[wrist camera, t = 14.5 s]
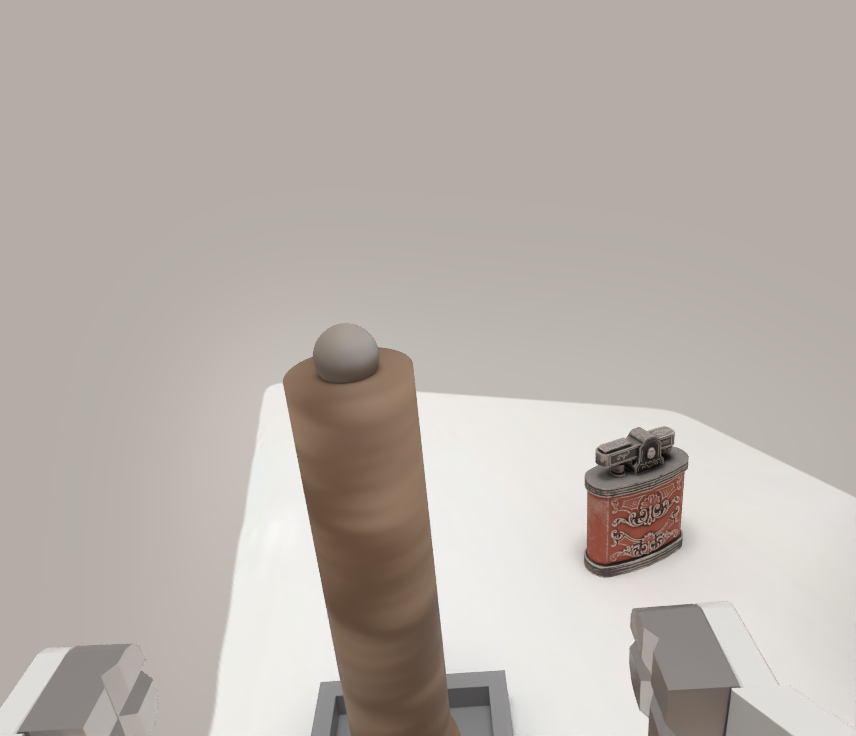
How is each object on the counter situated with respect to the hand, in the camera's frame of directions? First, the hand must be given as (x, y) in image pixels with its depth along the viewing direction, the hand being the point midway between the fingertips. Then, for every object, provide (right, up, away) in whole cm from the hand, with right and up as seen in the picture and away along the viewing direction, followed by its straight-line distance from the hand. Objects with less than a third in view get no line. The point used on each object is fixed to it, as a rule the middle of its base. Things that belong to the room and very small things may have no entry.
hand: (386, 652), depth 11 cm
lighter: (+16, -9, +38) cm, 42 cm away
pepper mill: (0, -16, +22) cm, 28 cm away
